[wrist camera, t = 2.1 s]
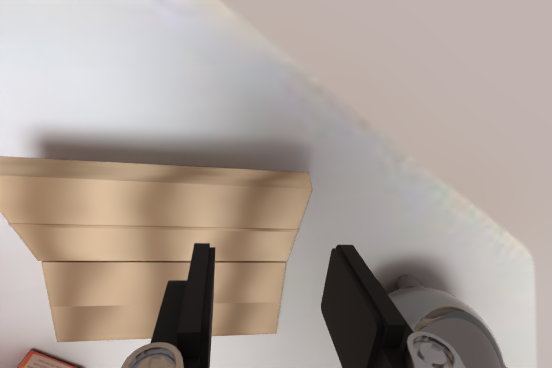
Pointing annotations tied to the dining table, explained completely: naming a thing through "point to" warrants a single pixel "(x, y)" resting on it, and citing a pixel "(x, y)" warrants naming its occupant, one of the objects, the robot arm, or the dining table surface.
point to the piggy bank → (448, 322)
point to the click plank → (150, 210)
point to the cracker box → (41, 361)
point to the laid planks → (156, 297)
